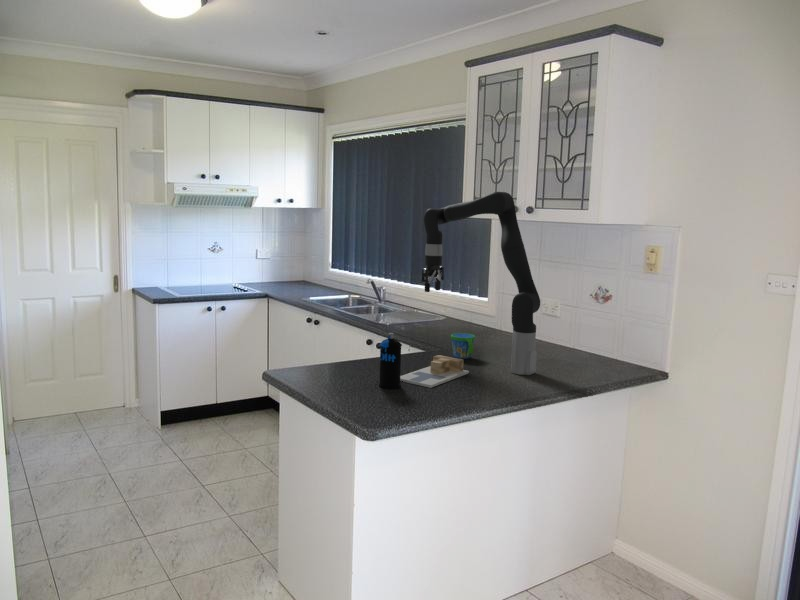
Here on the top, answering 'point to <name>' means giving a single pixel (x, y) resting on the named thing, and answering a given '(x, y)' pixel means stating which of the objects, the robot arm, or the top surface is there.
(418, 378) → the mat
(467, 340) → the snack cup
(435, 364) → the t block
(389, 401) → the top surface
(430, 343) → the top surface
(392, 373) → the aerosol can
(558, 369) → the top surface
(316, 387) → the top surface
